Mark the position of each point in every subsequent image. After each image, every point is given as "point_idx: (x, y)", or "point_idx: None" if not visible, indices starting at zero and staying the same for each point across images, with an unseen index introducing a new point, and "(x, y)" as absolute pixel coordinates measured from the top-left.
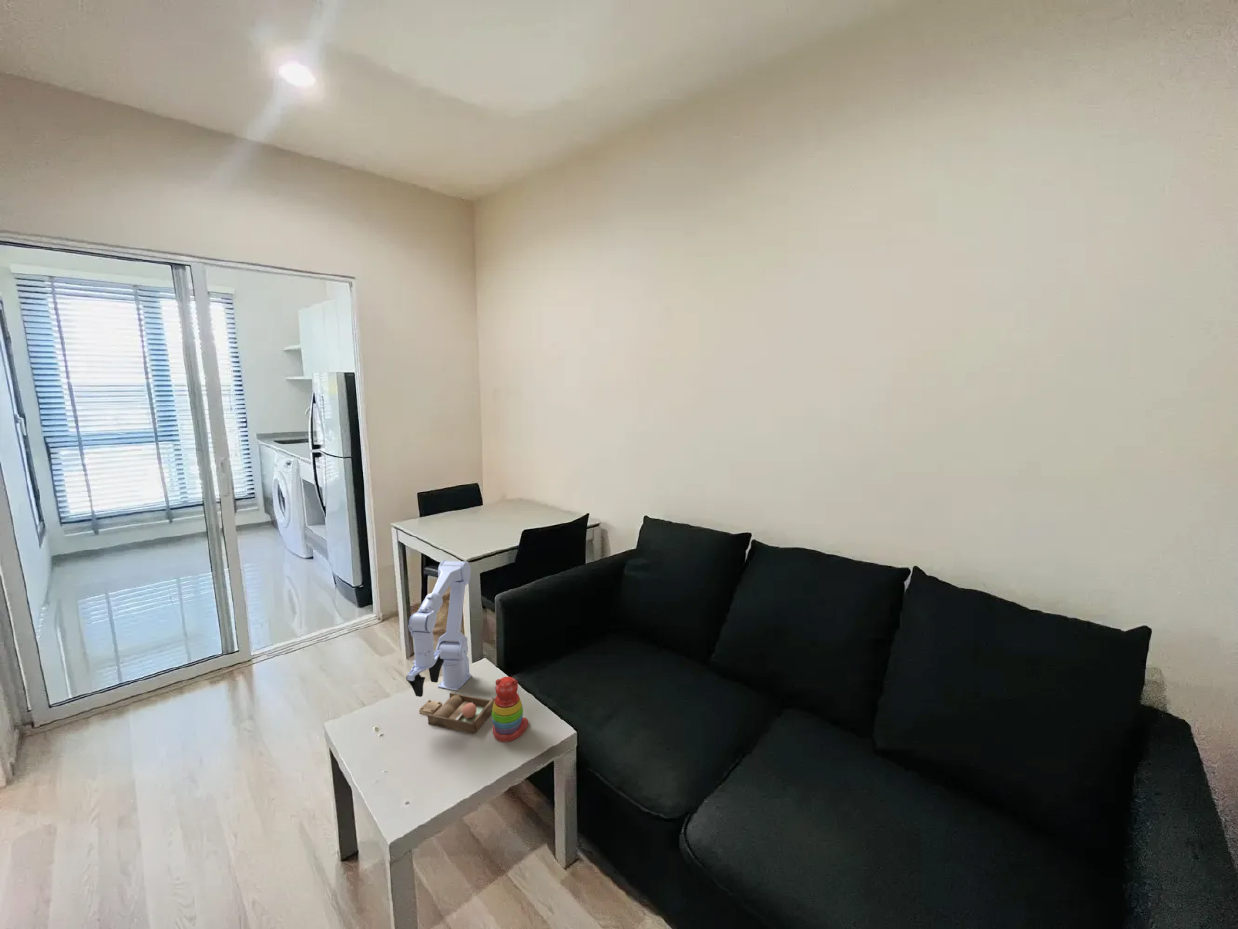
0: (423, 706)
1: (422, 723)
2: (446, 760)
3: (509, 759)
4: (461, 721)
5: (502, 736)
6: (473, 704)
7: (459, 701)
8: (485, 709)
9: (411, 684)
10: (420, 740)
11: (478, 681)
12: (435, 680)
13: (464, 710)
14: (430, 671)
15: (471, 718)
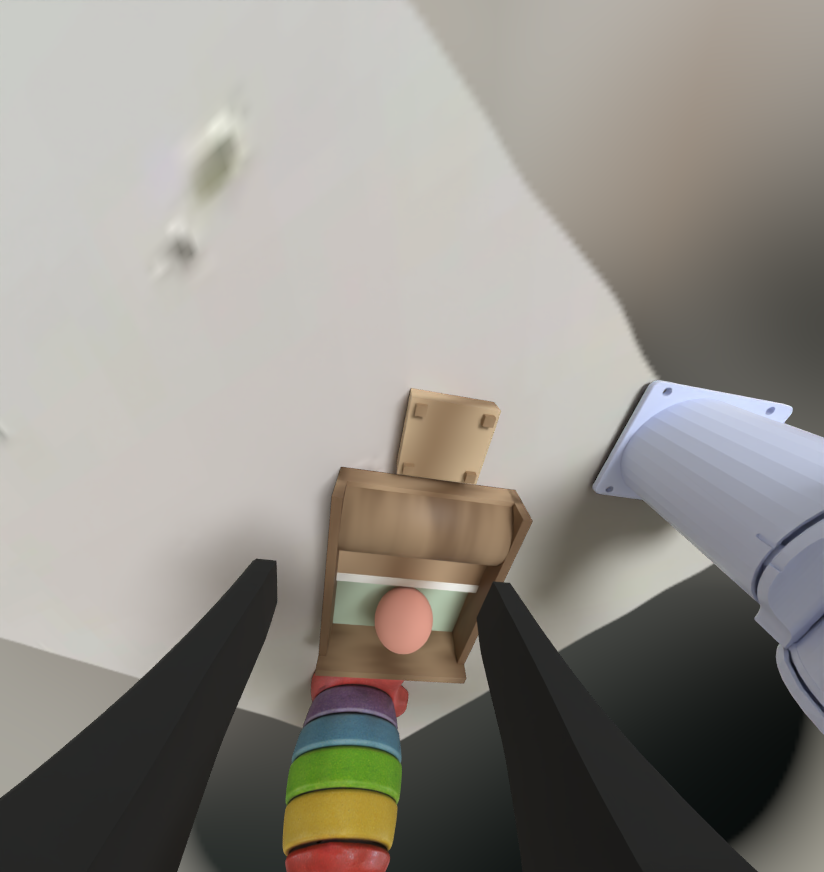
0: (441, 407)
1: (339, 439)
2: (183, 597)
3: (258, 701)
4: (326, 625)
5: (312, 698)
6: (414, 651)
7: (470, 563)
8: (394, 679)
9: (62, 768)
10: (232, 482)
11: (648, 539)
12: (485, 632)
13: (380, 628)
14: (546, 713)
15: None
